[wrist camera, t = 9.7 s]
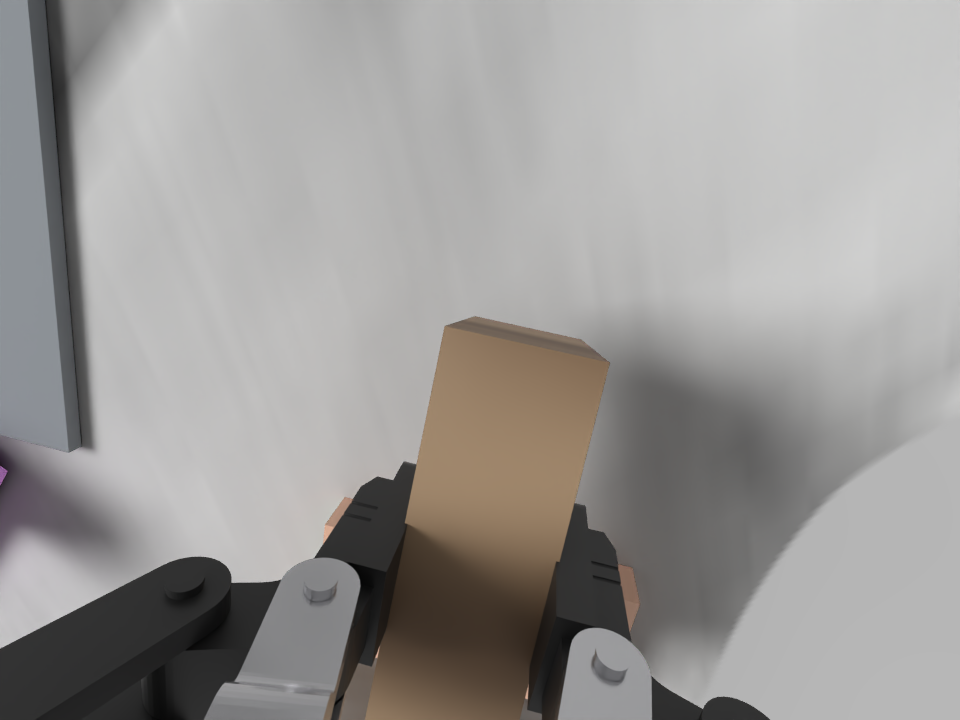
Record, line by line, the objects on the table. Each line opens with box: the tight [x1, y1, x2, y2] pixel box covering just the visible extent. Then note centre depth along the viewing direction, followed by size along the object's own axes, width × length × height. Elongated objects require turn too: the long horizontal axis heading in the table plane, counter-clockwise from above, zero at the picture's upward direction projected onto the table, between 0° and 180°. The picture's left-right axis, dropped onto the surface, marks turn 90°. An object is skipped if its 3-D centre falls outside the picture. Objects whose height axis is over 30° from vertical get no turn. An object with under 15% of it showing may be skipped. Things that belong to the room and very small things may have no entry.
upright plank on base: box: [340, 316, 610, 720], centre depth 12 cm, size 12×7×5 cm, turn 169°
